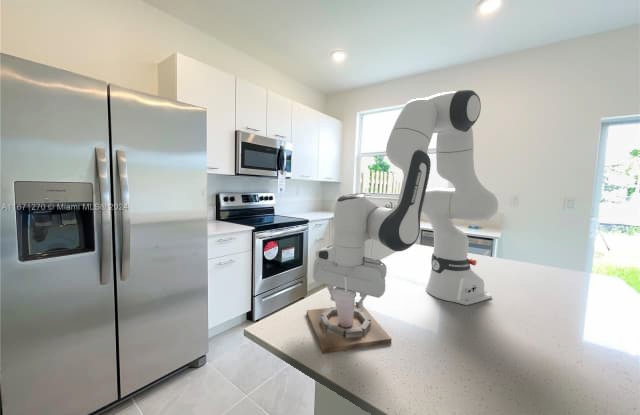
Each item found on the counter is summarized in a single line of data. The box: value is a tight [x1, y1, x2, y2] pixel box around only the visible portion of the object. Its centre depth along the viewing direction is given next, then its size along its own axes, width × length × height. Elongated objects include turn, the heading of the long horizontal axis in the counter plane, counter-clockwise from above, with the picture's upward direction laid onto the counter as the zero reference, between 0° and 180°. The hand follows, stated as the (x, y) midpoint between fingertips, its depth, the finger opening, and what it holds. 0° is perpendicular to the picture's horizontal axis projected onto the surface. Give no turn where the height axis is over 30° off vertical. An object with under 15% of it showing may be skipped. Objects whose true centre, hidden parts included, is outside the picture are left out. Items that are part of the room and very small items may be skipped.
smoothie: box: [333, 276, 357, 327], centre depth 68 cm, size 6×6×14 cm
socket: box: [306, 304, 393, 354], centre depth 70 cm, size 18×18×3 cm
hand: (346, 303), depth 69 cm, fingers open, 6 cm apart
